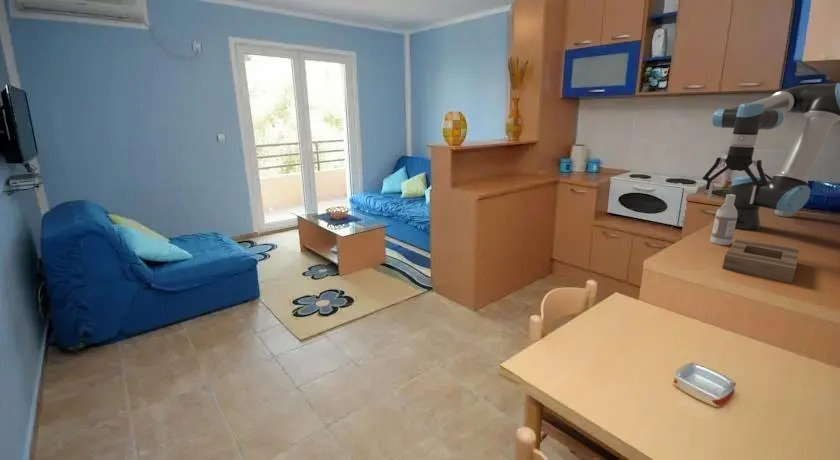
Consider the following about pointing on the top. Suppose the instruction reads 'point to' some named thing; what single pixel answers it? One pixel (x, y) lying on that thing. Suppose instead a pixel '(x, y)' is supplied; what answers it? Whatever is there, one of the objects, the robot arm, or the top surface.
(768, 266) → the walnut holder
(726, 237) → the bath foam
